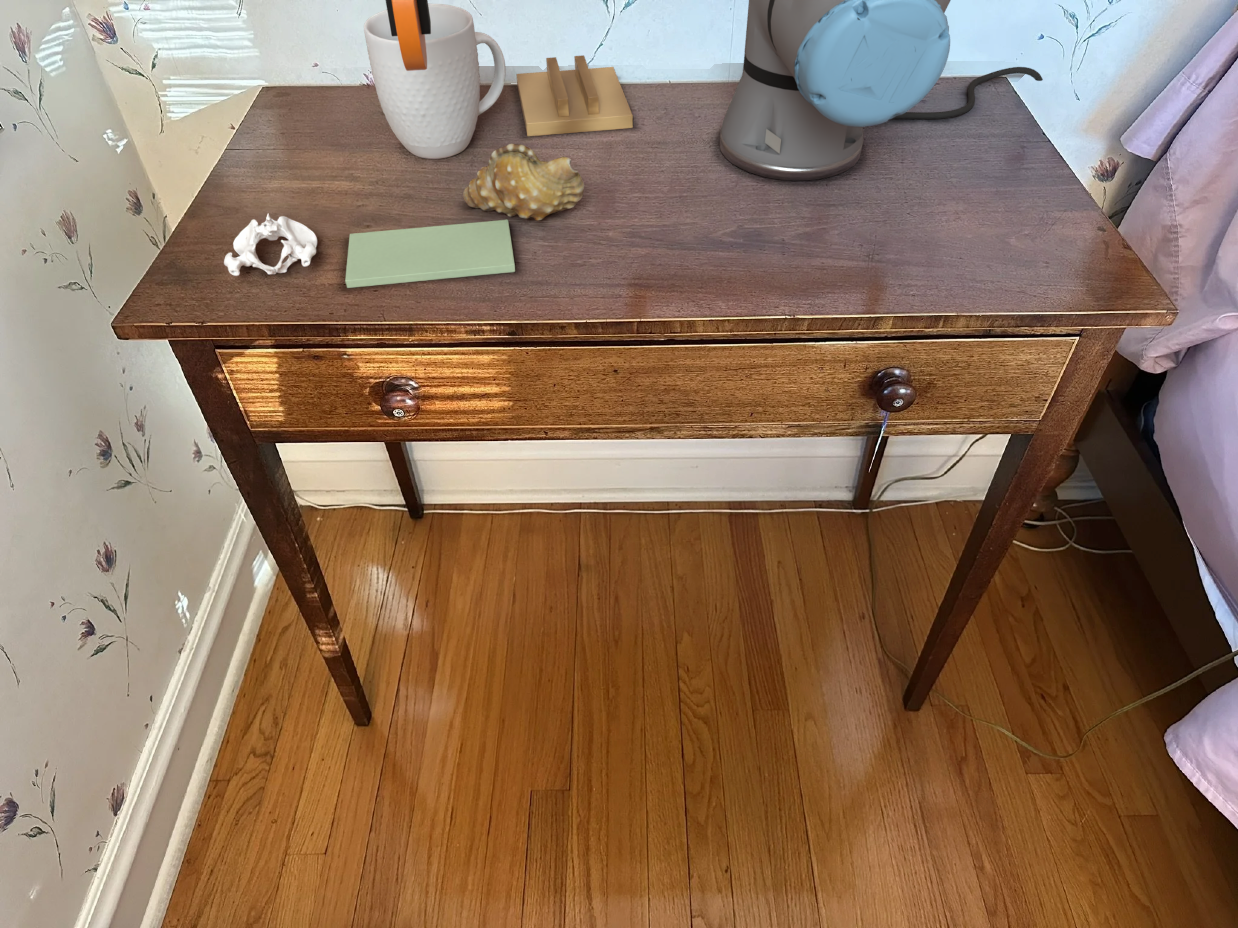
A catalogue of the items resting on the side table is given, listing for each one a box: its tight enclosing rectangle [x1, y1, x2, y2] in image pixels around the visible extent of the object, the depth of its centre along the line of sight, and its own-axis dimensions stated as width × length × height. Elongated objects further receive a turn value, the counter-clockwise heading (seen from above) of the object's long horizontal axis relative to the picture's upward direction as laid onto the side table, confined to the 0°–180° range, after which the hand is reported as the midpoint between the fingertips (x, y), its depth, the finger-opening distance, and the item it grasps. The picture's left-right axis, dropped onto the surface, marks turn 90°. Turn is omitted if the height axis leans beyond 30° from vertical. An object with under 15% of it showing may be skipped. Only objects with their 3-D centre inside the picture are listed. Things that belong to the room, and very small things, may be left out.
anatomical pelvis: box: [223, 213, 318, 277], centre depth 81 cm, size 8×4×7 cm
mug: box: [363, 2, 507, 160], centre depth 95 cm, size 15×11×13 cm
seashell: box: [462, 143, 585, 221], centre depth 86 cm, size 9×8×10 cm
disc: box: [392, 0, 427, 71], centre depth 71 cm, size 2×10×10 cm, turn 9°
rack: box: [515, 55, 634, 137], centre depth 105 cm, size 12×14×4 cm
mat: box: [344, 219, 516, 289], centre depth 83 cm, size 15×8×1 cm, turn 99°
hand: (411, 28), depth 72 cm, fingers closed on disc, 2 cm apart
